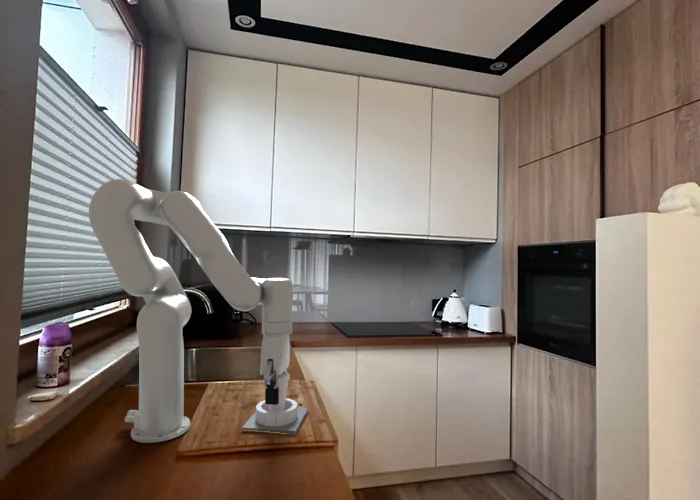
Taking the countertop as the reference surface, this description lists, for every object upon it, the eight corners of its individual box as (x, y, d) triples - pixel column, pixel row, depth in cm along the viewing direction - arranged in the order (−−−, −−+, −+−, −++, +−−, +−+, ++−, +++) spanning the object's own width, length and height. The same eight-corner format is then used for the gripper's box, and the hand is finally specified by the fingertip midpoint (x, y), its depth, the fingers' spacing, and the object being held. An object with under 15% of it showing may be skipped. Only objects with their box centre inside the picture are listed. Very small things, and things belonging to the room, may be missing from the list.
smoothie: (278, 406, 100) (278, 353, 100) (294, 413, 96) (295, 357, 96) (258, 414, 95) (258, 358, 95) (274, 421, 91) (275, 363, 91)
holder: (241, 431, 90) (241, 414, 90) (260, 409, 103) (261, 394, 103) (295, 435, 88) (295, 417, 88) (308, 412, 101) (308, 396, 101)
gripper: (273, 320, 105) (272, 385, 105) (249, 333, 88) (249, 411, 87) (300, 321, 104) (299, 387, 104) (281, 335, 87) (280, 413, 87)
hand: (276, 397), depth 96 cm, fingers closed on smoothie, 6 cm apart
